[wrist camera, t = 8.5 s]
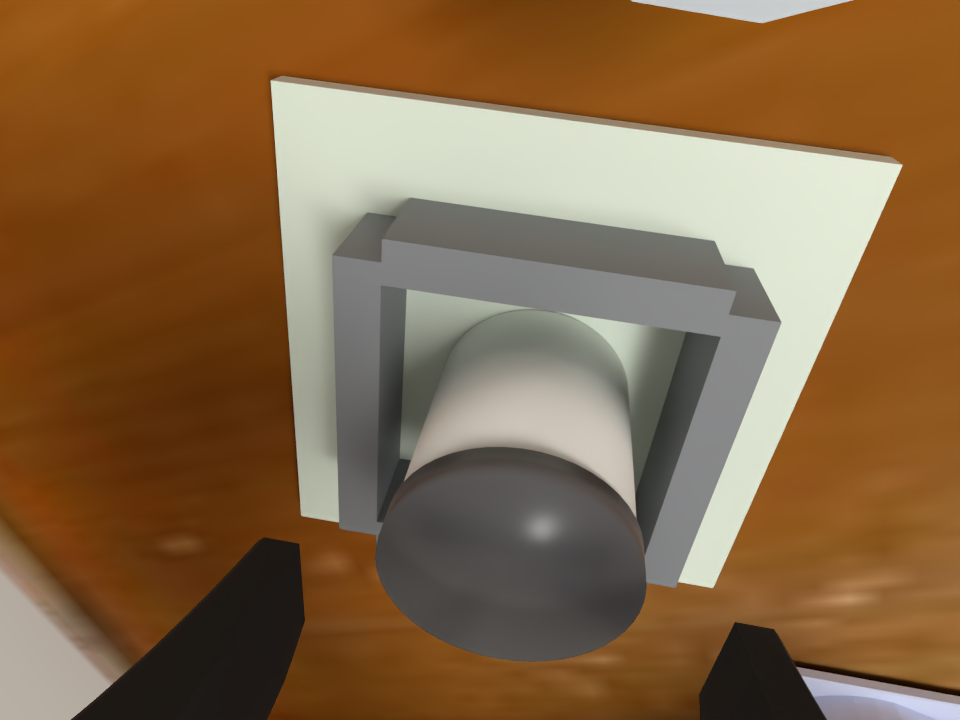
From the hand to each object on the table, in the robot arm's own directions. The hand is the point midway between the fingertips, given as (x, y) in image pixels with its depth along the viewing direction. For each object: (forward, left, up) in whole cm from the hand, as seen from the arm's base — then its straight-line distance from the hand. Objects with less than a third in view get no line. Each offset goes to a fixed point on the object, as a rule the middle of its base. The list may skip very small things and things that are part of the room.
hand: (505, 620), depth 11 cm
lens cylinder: (0, 0, -7) cm, 7 cm away
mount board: (0, 0, -8) cm, 8 cm away
